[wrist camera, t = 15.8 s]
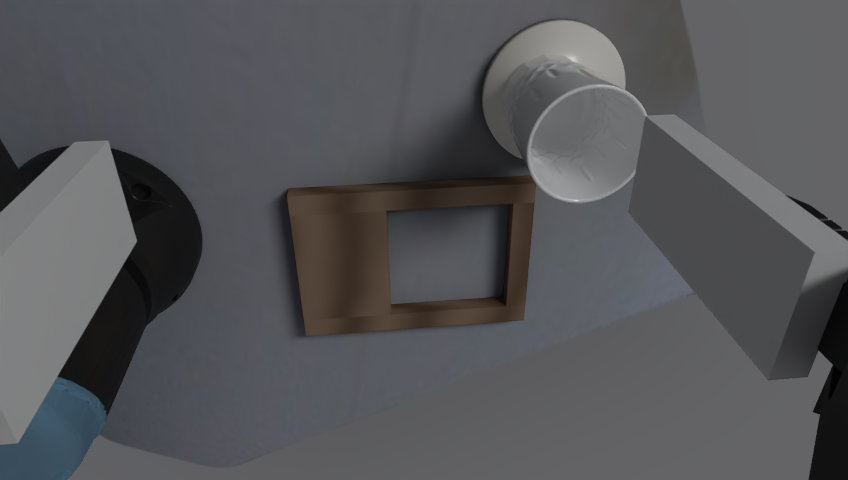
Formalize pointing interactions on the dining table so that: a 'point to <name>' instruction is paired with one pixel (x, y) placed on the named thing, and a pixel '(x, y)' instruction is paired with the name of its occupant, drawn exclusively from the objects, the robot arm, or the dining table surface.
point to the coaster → (536, 41)
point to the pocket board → (369, 262)
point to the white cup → (573, 128)
